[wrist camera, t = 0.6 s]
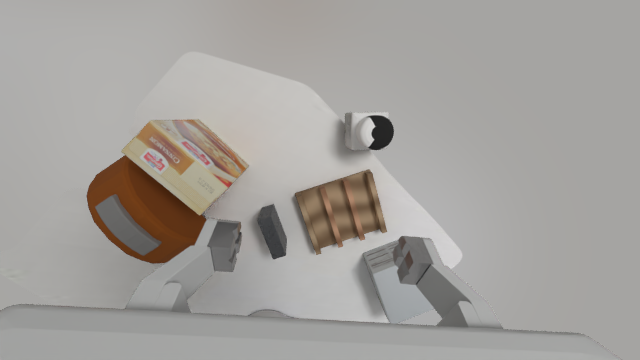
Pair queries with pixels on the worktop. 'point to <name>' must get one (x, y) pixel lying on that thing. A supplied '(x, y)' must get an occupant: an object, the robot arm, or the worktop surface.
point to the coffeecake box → (186, 160)
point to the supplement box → (394, 286)
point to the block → (273, 231)
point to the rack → (341, 210)
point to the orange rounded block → (141, 213)
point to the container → (368, 130)
